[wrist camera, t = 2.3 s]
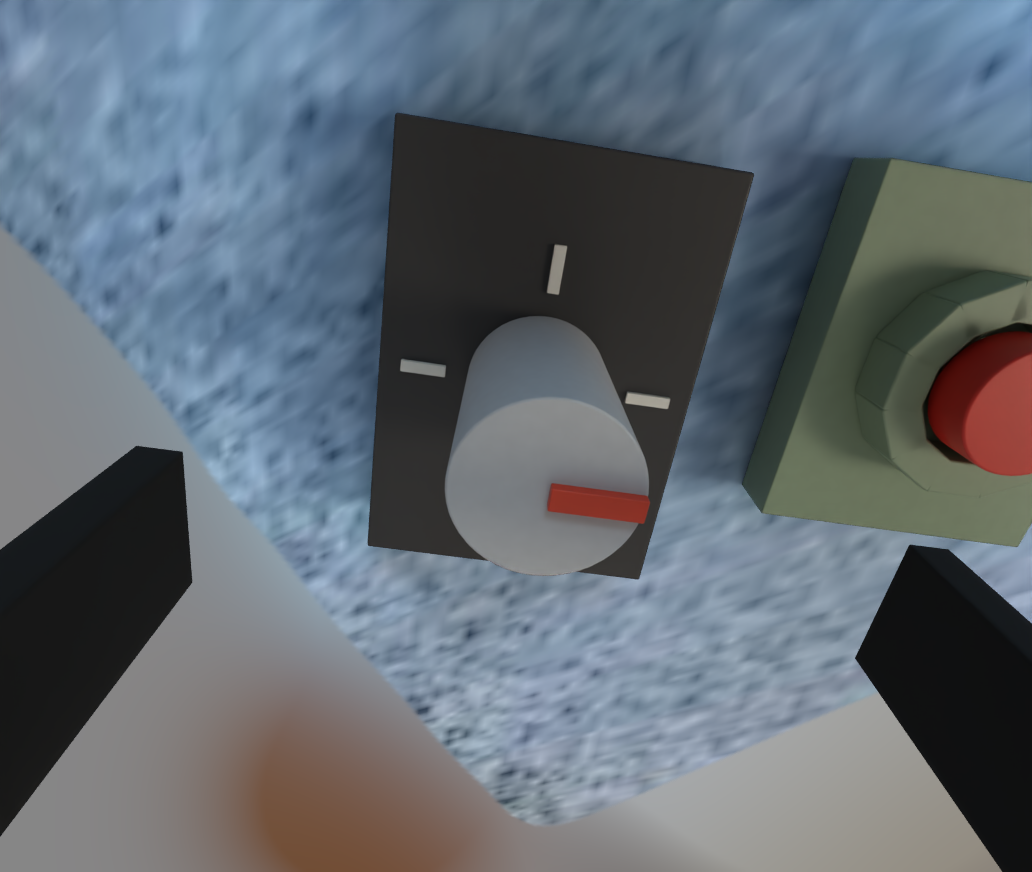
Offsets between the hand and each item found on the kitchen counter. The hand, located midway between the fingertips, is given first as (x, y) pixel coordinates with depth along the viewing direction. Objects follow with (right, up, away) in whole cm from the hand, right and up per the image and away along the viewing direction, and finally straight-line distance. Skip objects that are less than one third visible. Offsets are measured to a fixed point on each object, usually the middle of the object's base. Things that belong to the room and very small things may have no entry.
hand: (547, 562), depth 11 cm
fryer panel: (0, +5, +11) cm, 12 cm away
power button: (+14, +4, +8) cm, 17 cm away
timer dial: (0, +4, +8) cm, 9 cm away
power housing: (+14, +5, +11) cm, 19 cm away
